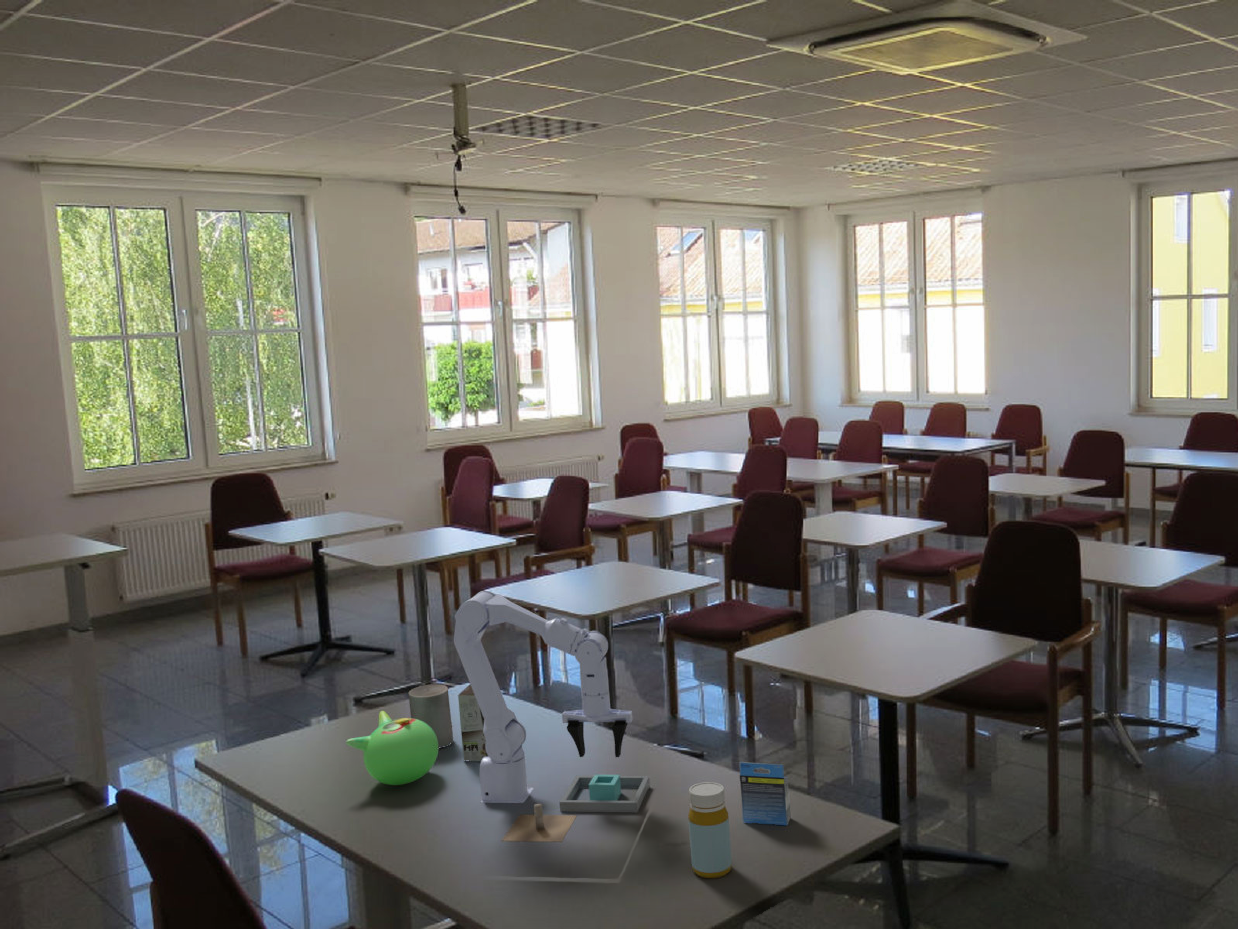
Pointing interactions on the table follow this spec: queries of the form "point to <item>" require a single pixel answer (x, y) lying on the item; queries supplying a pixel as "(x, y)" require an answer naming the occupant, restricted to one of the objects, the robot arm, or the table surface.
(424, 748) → the toy bird
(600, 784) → the teal hollow block
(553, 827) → the stake board
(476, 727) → the coffee box
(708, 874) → the bottle
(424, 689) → the pillar candle
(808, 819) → the table surface
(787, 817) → the label tape box
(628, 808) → the tray
